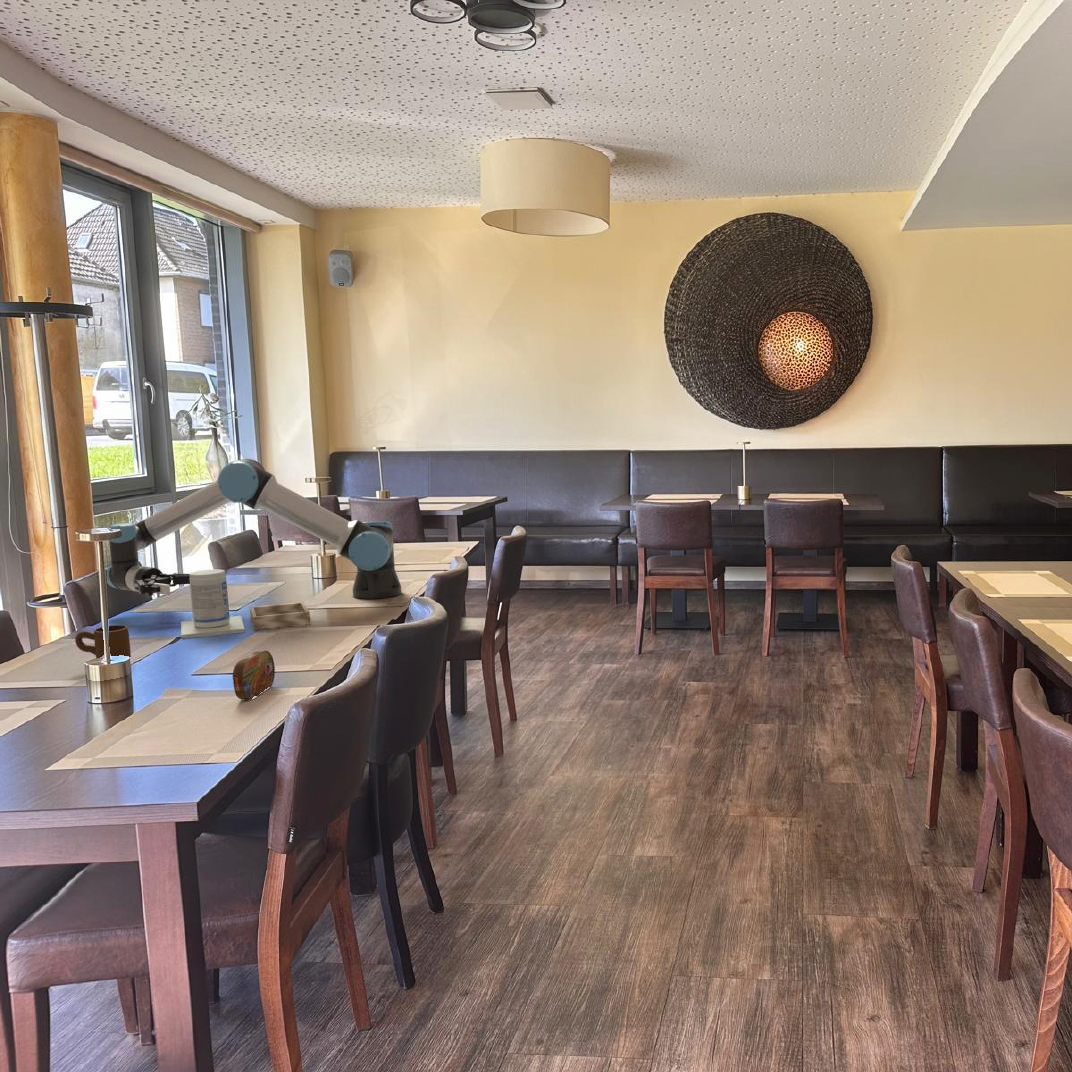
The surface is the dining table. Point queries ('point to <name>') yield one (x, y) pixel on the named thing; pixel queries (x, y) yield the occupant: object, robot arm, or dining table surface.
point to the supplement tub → (209, 598)
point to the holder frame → (279, 615)
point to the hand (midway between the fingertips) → (190, 585)
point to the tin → (253, 674)
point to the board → (192, 631)
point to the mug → (117, 641)
